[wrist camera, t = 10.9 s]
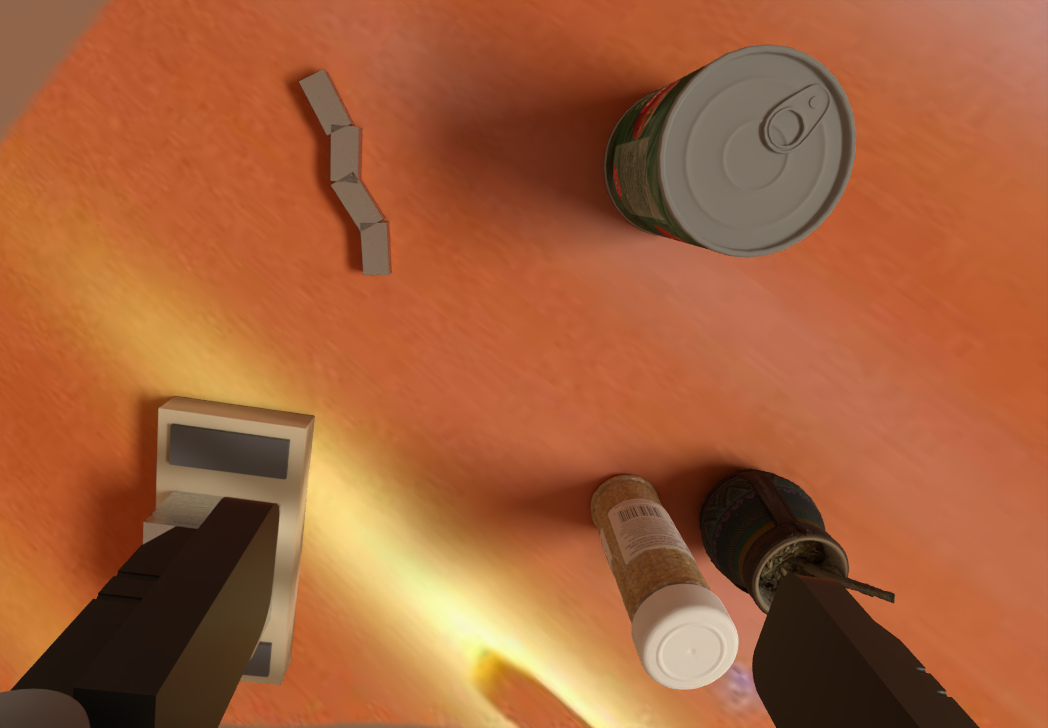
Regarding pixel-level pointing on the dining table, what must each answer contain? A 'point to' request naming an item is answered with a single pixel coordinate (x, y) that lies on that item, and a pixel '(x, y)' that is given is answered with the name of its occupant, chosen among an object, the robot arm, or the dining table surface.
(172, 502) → the link
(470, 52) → the dining table surface
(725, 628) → the spice jar
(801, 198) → the canned tomato
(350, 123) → the slack chain
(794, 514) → the mate gourd
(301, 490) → the beige holder base
